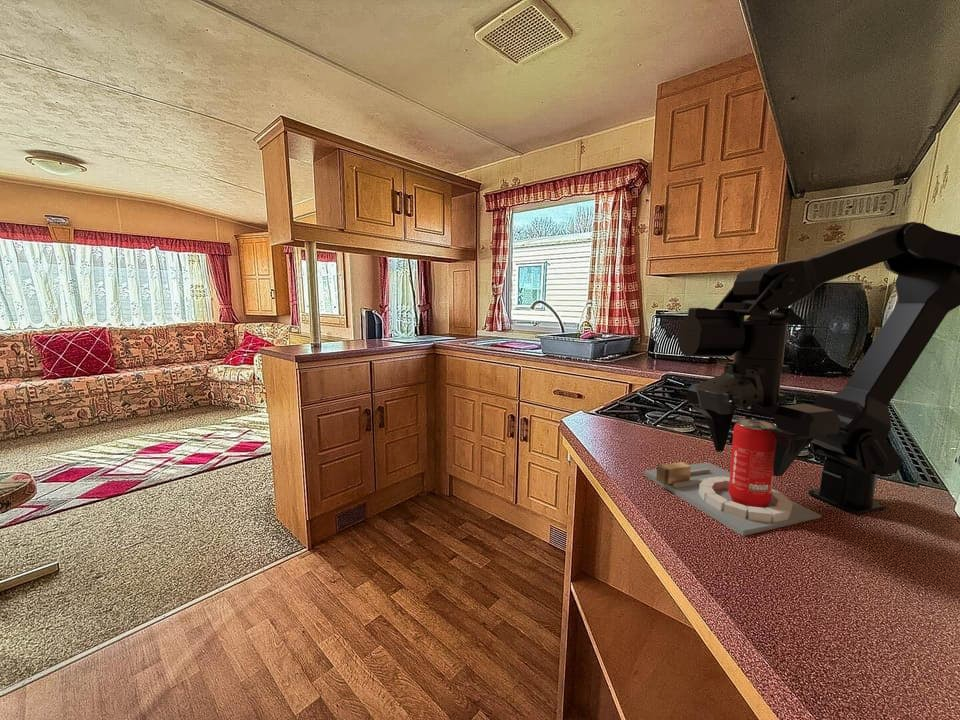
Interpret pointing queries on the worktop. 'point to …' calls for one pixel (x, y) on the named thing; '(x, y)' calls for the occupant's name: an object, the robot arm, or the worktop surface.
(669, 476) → the bar
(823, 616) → the worktop surface
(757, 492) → the beverage can
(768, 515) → the dock board
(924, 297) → the robot arm
